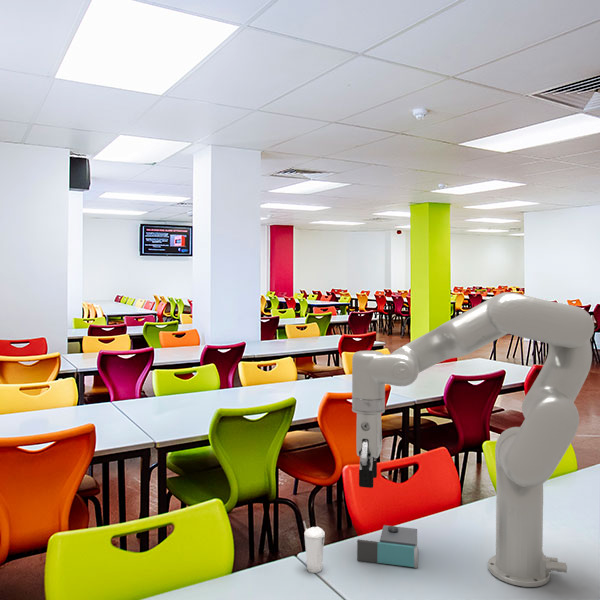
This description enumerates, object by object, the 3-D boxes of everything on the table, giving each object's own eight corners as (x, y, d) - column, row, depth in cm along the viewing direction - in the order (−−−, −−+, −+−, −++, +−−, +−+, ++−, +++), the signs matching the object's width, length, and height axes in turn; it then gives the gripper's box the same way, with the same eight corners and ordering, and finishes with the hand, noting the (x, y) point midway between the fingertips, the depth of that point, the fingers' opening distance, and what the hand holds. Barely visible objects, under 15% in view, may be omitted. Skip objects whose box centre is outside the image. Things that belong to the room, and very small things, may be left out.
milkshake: (309, 561, 125) (309, 517, 125) (328, 568, 122) (328, 524, 122) (297, 568, 122) (297, 524, 122) (316, 577, 118) (316, 531, 118)
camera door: (417, 565, 123) (417, 546, 123) (417, 567, 122) (417, 548, 122) (357, 558, 126) (357, 539, 126) (357, 560, 125) (357, 541, 125)
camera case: (417, 549, 131) (417, 526, 131) (415, 566, 123) (415, 541, 123) (383, 545, 133) (383, 522, 133) (379, 561, 125) (379, 537, 125)
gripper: (380, 413, 118) (380, 497, 118) (388, 398, 134) (388, 471, 135) (346, 411, 120) (345, 493, 120) (357, 396, 136) (357, 468, 137)
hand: (368, 481), depth 127 cm, fingers open, 5 cm apart
